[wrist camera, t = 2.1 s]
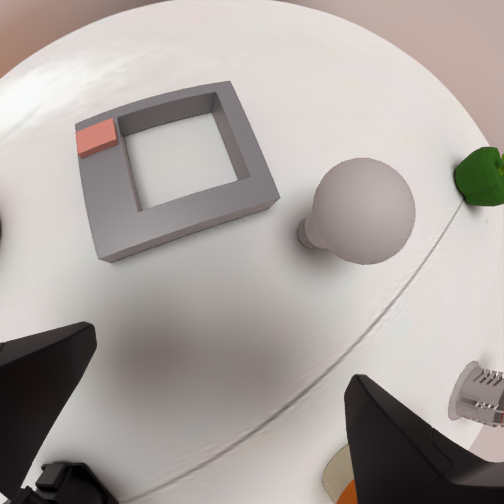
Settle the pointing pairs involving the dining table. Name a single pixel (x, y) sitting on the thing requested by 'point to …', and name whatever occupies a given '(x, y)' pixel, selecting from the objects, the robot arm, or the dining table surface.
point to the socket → (179, 210)
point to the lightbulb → (360, 212)
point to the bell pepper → (482, 177)
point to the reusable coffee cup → (340, 478)
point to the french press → (478, 396)
